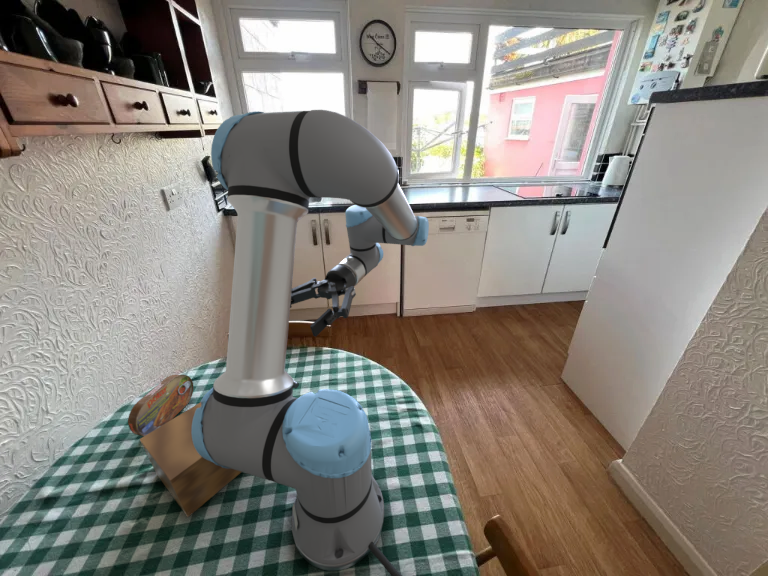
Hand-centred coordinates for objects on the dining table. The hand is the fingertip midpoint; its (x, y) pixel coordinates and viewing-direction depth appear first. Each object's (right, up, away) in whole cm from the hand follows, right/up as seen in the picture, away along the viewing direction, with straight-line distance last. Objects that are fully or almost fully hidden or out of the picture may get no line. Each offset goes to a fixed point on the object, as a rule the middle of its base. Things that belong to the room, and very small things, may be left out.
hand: (290, 324), depth 69 cm
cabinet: (-13, -27, -8) cm, 31 cm away
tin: (-29, -22, +3) cm, 37 cm away
